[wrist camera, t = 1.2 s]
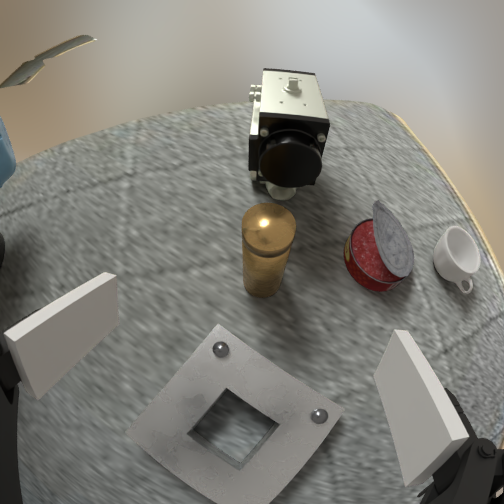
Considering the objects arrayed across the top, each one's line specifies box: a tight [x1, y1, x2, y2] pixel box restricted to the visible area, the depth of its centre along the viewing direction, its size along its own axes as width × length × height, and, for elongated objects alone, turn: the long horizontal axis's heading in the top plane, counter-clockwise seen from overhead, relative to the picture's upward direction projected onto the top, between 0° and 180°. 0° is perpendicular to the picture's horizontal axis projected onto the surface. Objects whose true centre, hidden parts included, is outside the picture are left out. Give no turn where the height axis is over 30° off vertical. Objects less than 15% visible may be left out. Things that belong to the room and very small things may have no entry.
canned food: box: [344, 200, 414, 292], centre depth 33 cm, size 11×10×10 cm
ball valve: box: [249, 68, 330, 200], centre depth 34 cm, size 18×8×18 cm, turn 176°
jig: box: [125, 324, 345, 504], centre depth 23 cm, size 16×16×4 cm
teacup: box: [433, 226, 480, 294], centre depth 32 cm, size 10×8×5 cm
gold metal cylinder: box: [242, 203, 296, 298], centre depth 28 cm, size 5×5×12 cm
